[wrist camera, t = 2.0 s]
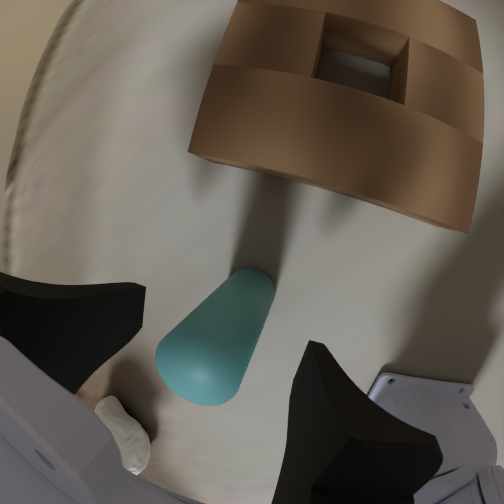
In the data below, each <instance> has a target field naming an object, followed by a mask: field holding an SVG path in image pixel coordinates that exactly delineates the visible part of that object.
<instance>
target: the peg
mask: <svg viewBox="0 0 504 504" xmlns="http://www.w3.org/2000/svg"><path fill="white" fill-rule="evenodd" d="M274 296H275V287H274V284H273V281H272V280H271V278H270V277H269V276H268V274H266V273H265V272H264V271H262V270H260V269H258V268H254V267H244V268H241V269H239V270H237V271H235V272H234V273H233V274H232V275H231V276H230V277H229V278H228V279H227V280H226V281H225V282H223V283H222V284H221V285H220V286H219V287H218V288H217V289H216V290H215V291H214V292H213V293H212V294H211V295H209V296H208V297H207V298H206V299H205V300H204V301H203V302H202V303H201V304H200V305H199V306H198V307H197V308H195V309H194V310H193V311H192V312H191V313H190V314H189V315H188V316H187V317H186V318H185V319H184V320H183V321H181V322H180V323H179V324H178V325H177V326H176V327H175V328H174V329H173V330H172V331H171V332H170V333H168V334H167V335H166V336H165V337H164V338H163V339H162V340H161V342H160V343H159V345H158V347H157V350H156V356H155V360H156V366H157V369H158V372H159V374H160V376H161V378H162V379H163V381H164V382H165V383H166V385H167V386H168V387H169V388H170V389H171V390H172V391H173V392H175V393H176V394H177V395H179V396H180V397H182V398H184V399H186V400H188V401H190V402H193V403H196V404H200V405H218V404H222V403H225V402H227V401H228V400H230V399H231V398H232V397H233V396H234V395H235V394H236V393H237V391H238V389H239V386H240V384H241V382H242V379H243V377H244V374H245V372H246V369H247V367H248V364H249V362H250V359H251V357H252V354H253V352H254V349H255V347H256V344H257V342H258V339H259V336H260V334H261V331H262V329H263V326H264V323H265V321H266V318H267V316H268V313H269V310H270V308H271V305H272V302H273V300H274Z"/></svg>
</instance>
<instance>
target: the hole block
mask: <svg viewBox="0 0 504 504" xmlns="http://www.w3.org/2000/svg"><path fill="white" fill-rule="evenodd" d="M323 48H328V49H332V50H337V51H341V52H345V53H348V54H352V55H356V56H359V57H363V58H366V59H369V60H372V61H376V62H379V63H382V64H384V65H387V66H390V67H392V70H391V79H390V87H389V95H388V99H386V98H383V97H380V96H377V95H374V94H371V93H368V92H365V91H361V90H358V89H355V88H351V87H348V86H344V85H341V84H337V83H333V82H329V81H325V80H321V79H317V75H318V71H319V66H320V62H321V57H322V53H323ZM483 134H484V81H483V67H482V57H481V49H480V42H479V35H478V30H477V24H476V20H475V19H473V18H471V17H470V16H468V15H466V14H464V13H462V12H461V11H459V10H457V9H455V8H453V7H451V6H449V5H447V4H445V3H443V2H441V1H439V0H238V2H237V4H236V7H235V9H234V11H233V14H232V16H231V19H230V21H229V24H228V26H227V29H226V32H225V34H224V37H223V40H222V42H221V45H220V48H219V51H218V53H217V56H216V59H215V62H214V65H213V68H212V71H211V74H210V77H209V80H208V83H207V86H206V89H205V92H204V96H203V99H202V102H201V105H200V109H199V112H198V116H197V119H196V123H195V126H194V130H193V134H192V137H191V141H190V145H189V149H188V152H189V153H192V154H194V155H197V156H199V157H202V158H204V159H207V160H209V161H212V162H214V163H218V164H223V165H228V166H233V167H238V168H242V169H247V170H251V171H256V172H260V173H264V174H269V175H273V176H277V177H281V178H285V179H289V180H293V181H297V182H300V183H304V184H308V185H312V186H315V187H319V188H322V189H326V190H329V191H333V192H336V193H340V194H343V195H346V196H350V197H353V198H356V199H359V200H362V201H366V202H369V203H372V204H375V205H378V206H381V207H384V208H387V209H390V210H393V211H395V212H398V213H401V214H404V215H407V216H410V217H412V218H415V219H418V220H420V221H423V222H426V223H428V224H431V225H433V226H436V227H441V228H446V229H450V230H455V231H459V232H464V233H468V232H469V228H470V224H471V219H472V215H473V210H474V205H475V200H476V194H477V188H478V182H479V175H480V167H481V159H482V148H483Z"/></svg>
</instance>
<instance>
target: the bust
mask: <svg viewBox="0 0 504 504" xmlns="http://www.w3.org/2000/svg"><path fill="white" fill-rule="evenodd" d="M94 412H95V413H96V415H97V416H98V417H99V418H100V420H101V421H102V422H103V423H104V424H105V426H106V427H107V428H108V429H109V430H110V431H111V433H112V435H113V437H114V439H115V441H116V443H117V445H118V447H119V450H120V453H121V457H122V463H123V467H124V468H125V469H127V470H128V471H130V472H131V473H133V474H135V475H138V474H140V473H141V471H142V470H144V469H145V468H146V466H147V464H148V462H149V460H150V449H151V446H150V441H149V437H148V435H147V433H146V431H145V430H144V429H143V428H142V426H141V425H140V424H139V422H137V421H136V420H135V419H134V418H132V417H131V416H129V415H128V414H127V413H126V412H125V410H124V408H123V406H122V405H121V403H120V402H119V400H118V399H117V398H116V397H115V396H108V397H106V398H104V399H102V400H101V401H100V402H99V403H98V404H97V406H96V408H95V410H94Z"/></svg>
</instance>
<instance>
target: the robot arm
mask: <svg viewBox="0 0 504 504" xmlns="http://www.w3.org/2000/svg"><path fill="white" fill-rule="evenodd" d="M145 293H146V287H145V286H142V285H139V284H137V283H132V282H121V283H107V284H92V285H57V284H47V283H41V282H34V281H29V280H25V279H21V278H17V277H14V276H10V275H7V274H5V273H2V272H0V504H205V503H202V502H199V501H196V500H193V499H190V498H187V497H185V496H182V495H180V494H177V493H175V492H172V491H170V490H167V489H165V488H163V487H160V486H158V485H156V484H154V483H152V482H149V481H147V480H145V479H143V478H141V477H139V476H137V475H135V474H133V473H131V472H130V471H128V470H127V469H125V468H124V467H123V463H122V457H121V453H120V450H119V447H118V445H117V443H116V441H115V439H114V437H113V435H112V433H111V431H110V430H109V429H108V428H107V427H106V426H105V424H104V423H103V422H102V421H101V420H100V418H99V417H98V416H97V415H96V413H95V412H94V411H92V410H91V409H90V408H89V407H88V406H86V405H85V404H84V403H83V402H82V401H81V400H79V399H78V398H77V397H76V396H75V393H76V392H77V391H78V390H79V388H80V387H81V386H82V385H83V384H84V383H85V381H86V380H87V379H88V378H89V377H90V376H91V375H92V374H93V373H94V372H95V371H96V370H97V369H98V368H99V367H100V366H101V365H102V364H104V363H105V362H106V361H107V360H108V359H110V358H111V357H112V356H113V355H114V354H116V353H117V352H118V351H119V350H120V349H122V348H123V347H124V346H125V345H126V344H127V343H129V342H130V341H131V340H132V339H133V337H134V336H135V335H136V334H137V333H138V331H139V330H140V329H141V328H142V323H143V312H144V302H145ZM390 379H393V380H392V381H391V382H388V381H389V380H390ZM460 389H461V390H460ZM473 390H474V387H473V386H472V385H471V384H464V383H455V382H446V381H439V380H431V379H424V378H418V377H412V376H406V375H400V374H394V373H389V372H384V373H382V374H380V375H379V377H378V378H377V380H376V382H375V384H374V386H373V387H372V389H371V391H370V393H369V394H368V396H367V395H366V394H365V393H363V392H362V391H361V390H360V389H359V388H358V387H357V386H356V385H355V383H354V382H353V381H352V380H351V379H350V378H349V377H348V376H347V374H346V373H345V372H344V371H343V369H342V368H341V367H340V365H339V364H338V363H337V361H336V360H335V358H334V357H333V356H332V354H331V353H330V351H329V350H328V349H327V347H326V346H325V345H324V344H322V343H319V342H315V341H311V340H309V342H308V345H307V347H306V350H305V352H304V355H303V357H302V360H301V362H300V365H299V367H298V370H297V372H296V374H295V377H294V379H293V384H292V389H291V394H290V400H289V414H288V429H287V442H286V449H285V454H284V458H283V463H282V467H281V471H280V475H279V479H278V483H277V487H276V490H275V494H274V497H273V500H272V504H504V469H503V468H502V467H501V466H500V465H496V461H497V445H496V441H495V439H494V437H493V435H492V433H491V432H490V430H489V428H488V427H487V425H486V423H485V422H484V420H483V418H482V417H481V415H480V414H479V412H478V411H477V409H476V407H475V406H474V404H473V403H472V401H471V400H470V398H469V397H470V395H471V394H472V392H473Z"/></svg>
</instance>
